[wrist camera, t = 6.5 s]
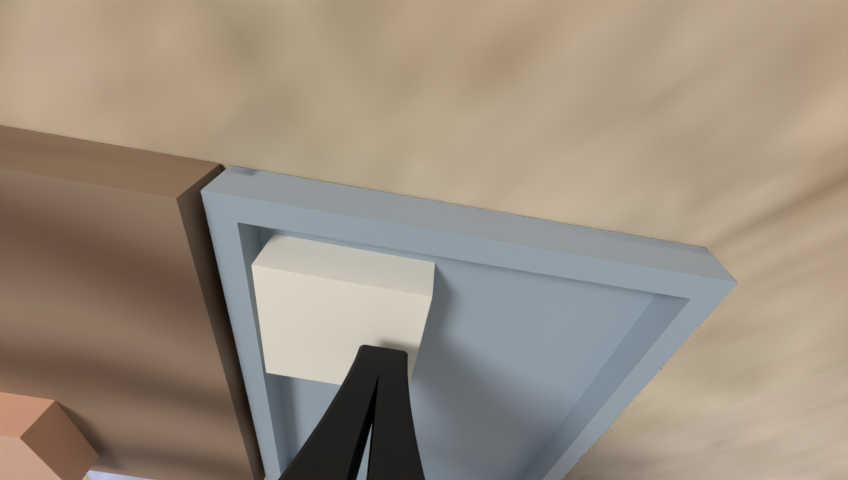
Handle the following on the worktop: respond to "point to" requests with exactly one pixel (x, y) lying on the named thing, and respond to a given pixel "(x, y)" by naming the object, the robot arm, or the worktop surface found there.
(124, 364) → the walnut board
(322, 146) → the worktop surface
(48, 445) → the terracotta tile
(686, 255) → the box
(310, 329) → the cream tile
